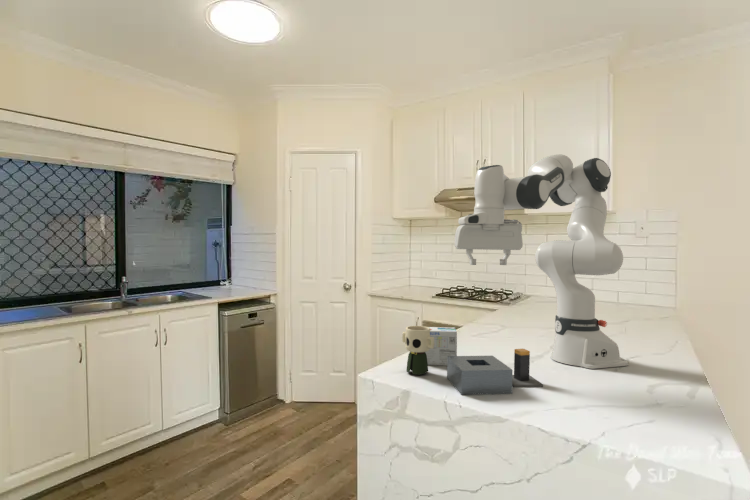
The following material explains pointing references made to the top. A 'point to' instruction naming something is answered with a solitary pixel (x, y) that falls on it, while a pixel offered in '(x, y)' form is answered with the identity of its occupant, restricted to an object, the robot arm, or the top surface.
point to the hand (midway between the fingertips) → (488, 264)
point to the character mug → (417, 348)
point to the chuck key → (521, 364)
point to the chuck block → (479, 375)
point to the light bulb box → (442, 345)
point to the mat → (526, 382)
